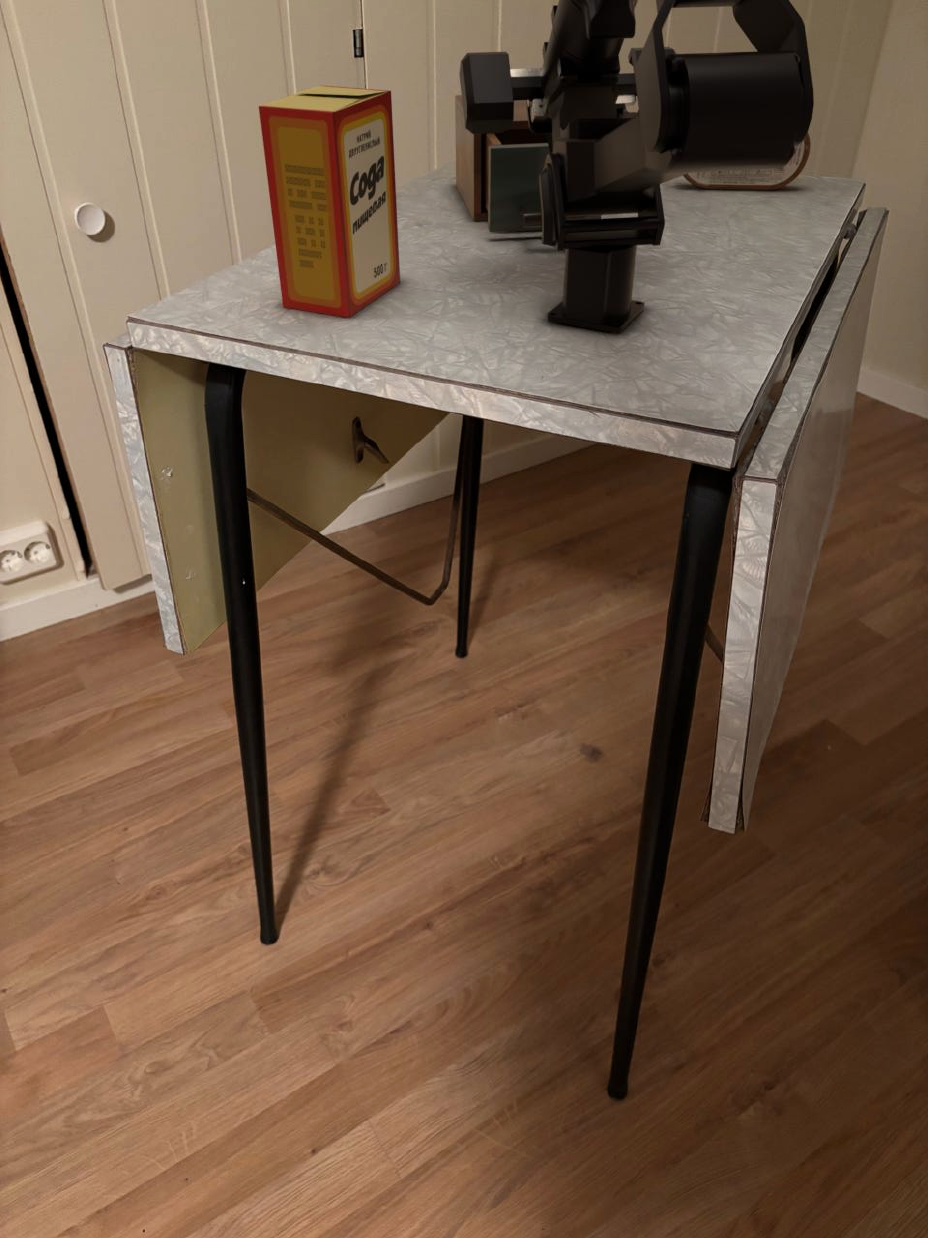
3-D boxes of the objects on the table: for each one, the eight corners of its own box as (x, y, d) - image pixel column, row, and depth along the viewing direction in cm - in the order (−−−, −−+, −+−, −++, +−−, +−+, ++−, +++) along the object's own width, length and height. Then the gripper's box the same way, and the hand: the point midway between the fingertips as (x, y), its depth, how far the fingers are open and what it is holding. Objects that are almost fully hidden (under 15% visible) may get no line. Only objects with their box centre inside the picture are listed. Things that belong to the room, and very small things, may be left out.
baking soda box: (349, 317, 83) (331, 106, 73) (283, 306, 85) (257, 100, 75) (400, 282, 89) (390, 85, 80) (338, 273, 92) (321, 80, 82)
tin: (800, 185, 115) (815, 105, 110) (804, 192, 112) (820, 111, 107) (669, 183, 116) (678, 104, 111) (671, 190, 113) (681, 109, 108)
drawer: (610, 238, 96) (617, 152, 92) (496, 244, 95) (497, 157, 90) (571, 191, 110) (575, 114, 105) (471, 196, 109) (470, 118, 104)
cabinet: (589, 215, 106) (595, 117, 100) (473, 221, 104) (473, 122, 99) (560, 181, 117) (565, 91, 111) (456, 185, 116) (455, 95, 110)
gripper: (482, 128, 75) (463, 233, 90) (717, 119, 77) (660, 223, 92) (467, -6, 76) (452, 121, 92) (699, -11, 78) (646, 114, 94)
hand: (553, 147), depth 92 cm, fingers closed
